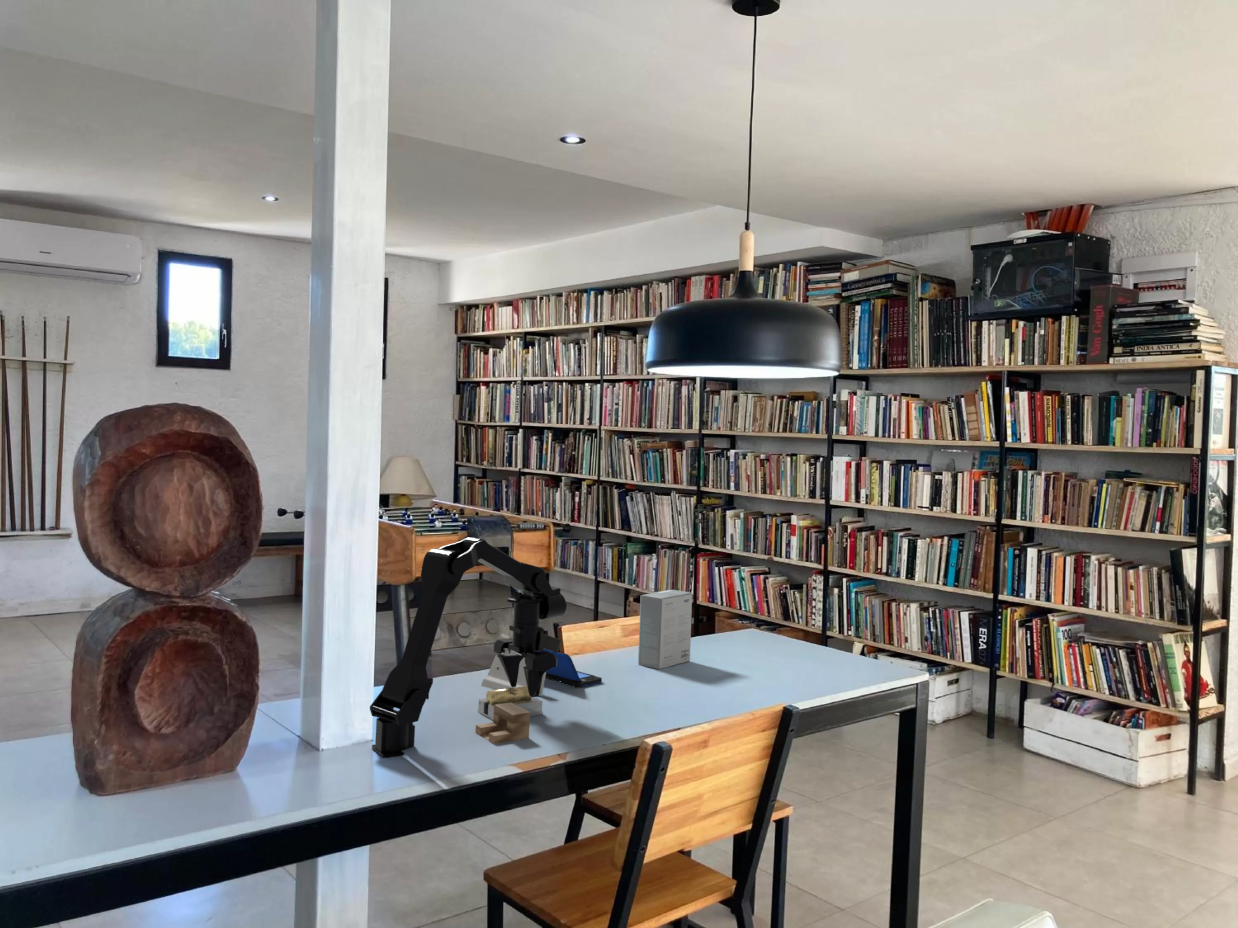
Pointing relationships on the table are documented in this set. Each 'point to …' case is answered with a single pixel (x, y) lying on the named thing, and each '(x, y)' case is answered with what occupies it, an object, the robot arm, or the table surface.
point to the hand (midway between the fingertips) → (522, 691)
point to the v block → (529, 704)
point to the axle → (507, 695)
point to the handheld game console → (569, 672)
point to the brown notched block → (506, 724)
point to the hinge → (500, 681)
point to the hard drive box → (665, 628)
